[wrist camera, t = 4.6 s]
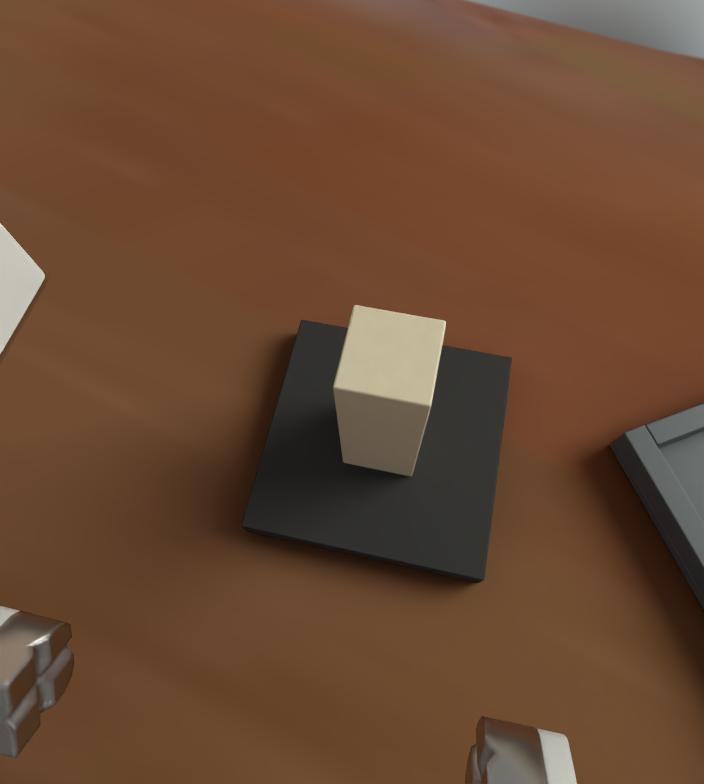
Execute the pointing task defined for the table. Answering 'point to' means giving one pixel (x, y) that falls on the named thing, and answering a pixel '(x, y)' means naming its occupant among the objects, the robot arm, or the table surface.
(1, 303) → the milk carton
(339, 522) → the loose pad
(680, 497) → the grey shallow rectangular tray
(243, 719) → the table surface
